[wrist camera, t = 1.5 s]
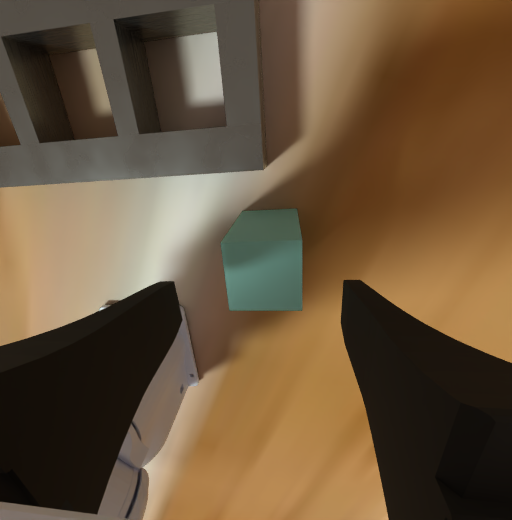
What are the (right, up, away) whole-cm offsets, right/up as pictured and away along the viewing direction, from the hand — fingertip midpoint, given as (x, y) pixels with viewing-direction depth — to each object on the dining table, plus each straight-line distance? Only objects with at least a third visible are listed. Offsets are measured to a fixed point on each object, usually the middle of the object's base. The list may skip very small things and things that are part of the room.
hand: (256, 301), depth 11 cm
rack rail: (-10, +13, +6) cm, 17 cm away
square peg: (+1, +4, +9) cm, 10 cm away
